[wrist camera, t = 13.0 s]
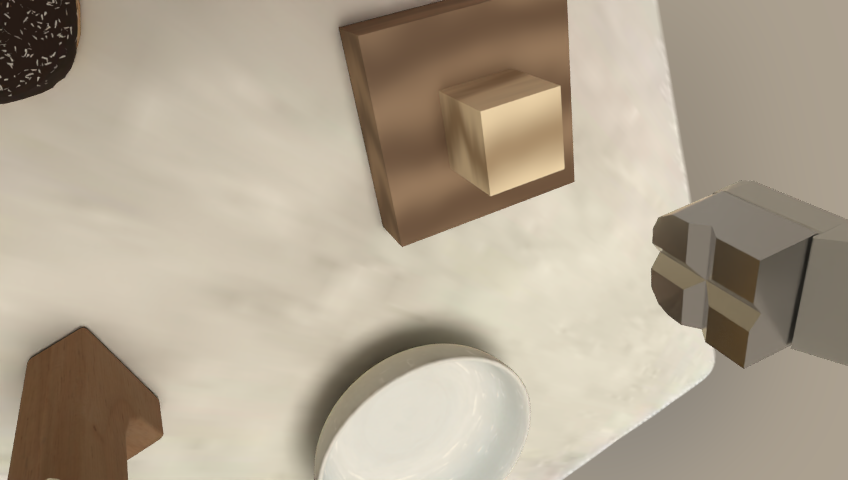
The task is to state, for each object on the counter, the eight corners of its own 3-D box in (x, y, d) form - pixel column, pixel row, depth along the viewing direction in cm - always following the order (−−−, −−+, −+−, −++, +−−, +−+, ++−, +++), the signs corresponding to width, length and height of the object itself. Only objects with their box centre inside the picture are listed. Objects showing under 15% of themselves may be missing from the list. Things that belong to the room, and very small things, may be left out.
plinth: (338, 27, 43) (358, 35, 40) (534, -24, 48) (566, -20, 45) (383, 226, 52) (402, 246, 48) (547, 166, 56) (574, 181, 53)
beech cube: (438, 90, 44) (480, 111, 39) (511, 68, 46) (560, 85, 41) (450, 168, 47) (490, 196, 42) (518, 144, 49) (564, 168, 44)
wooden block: (161, 399, 50) (186, 598, 35) (109, 432, 49) (112, 650, 34) (84, 323, 44) (75, 519, 30) (25, 359, 44) (-14, 578, 29)
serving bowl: (433, 501, 69) (462, 552, 63) (257, 482, 57) (274, 542, 52) (530, 344, 65) (571, 384, 59) (364, 289, 53) (394, 332, 48)
